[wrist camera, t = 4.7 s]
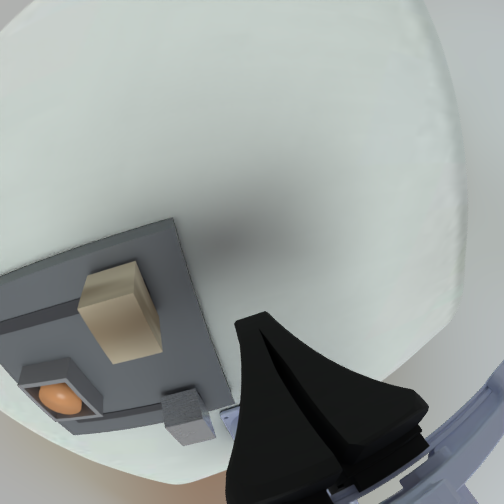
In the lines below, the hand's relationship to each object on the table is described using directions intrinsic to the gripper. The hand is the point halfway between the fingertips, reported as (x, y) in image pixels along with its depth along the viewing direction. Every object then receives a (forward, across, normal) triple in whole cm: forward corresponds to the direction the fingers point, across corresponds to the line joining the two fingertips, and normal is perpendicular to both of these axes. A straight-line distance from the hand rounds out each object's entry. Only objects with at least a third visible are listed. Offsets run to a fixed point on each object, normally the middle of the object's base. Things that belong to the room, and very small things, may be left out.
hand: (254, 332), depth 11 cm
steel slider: (+5, +6, +12) cm, 15 cm away
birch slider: (+6, +6, 0) cm, 8 cm away
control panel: (+8, +11, +6) cm, 15 cm away
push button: (+6, +15, +7) cm, 17 cm away
